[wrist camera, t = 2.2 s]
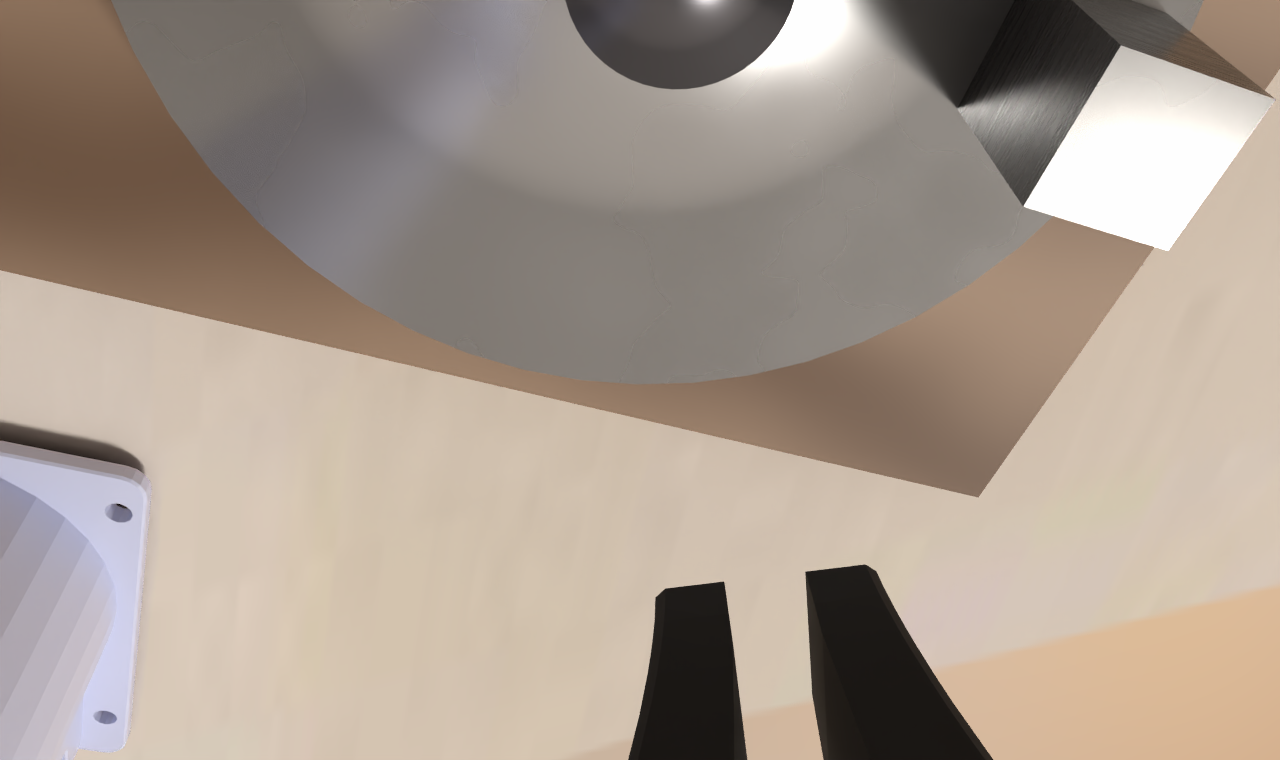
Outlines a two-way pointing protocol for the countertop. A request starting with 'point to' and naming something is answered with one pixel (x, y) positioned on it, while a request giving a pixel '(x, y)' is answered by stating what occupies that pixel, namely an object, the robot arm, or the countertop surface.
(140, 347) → the countertop surface
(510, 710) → the countertop surface
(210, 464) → the countertop surface
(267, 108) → the silver round platter
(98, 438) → the countertop surface
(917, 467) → the base plate
